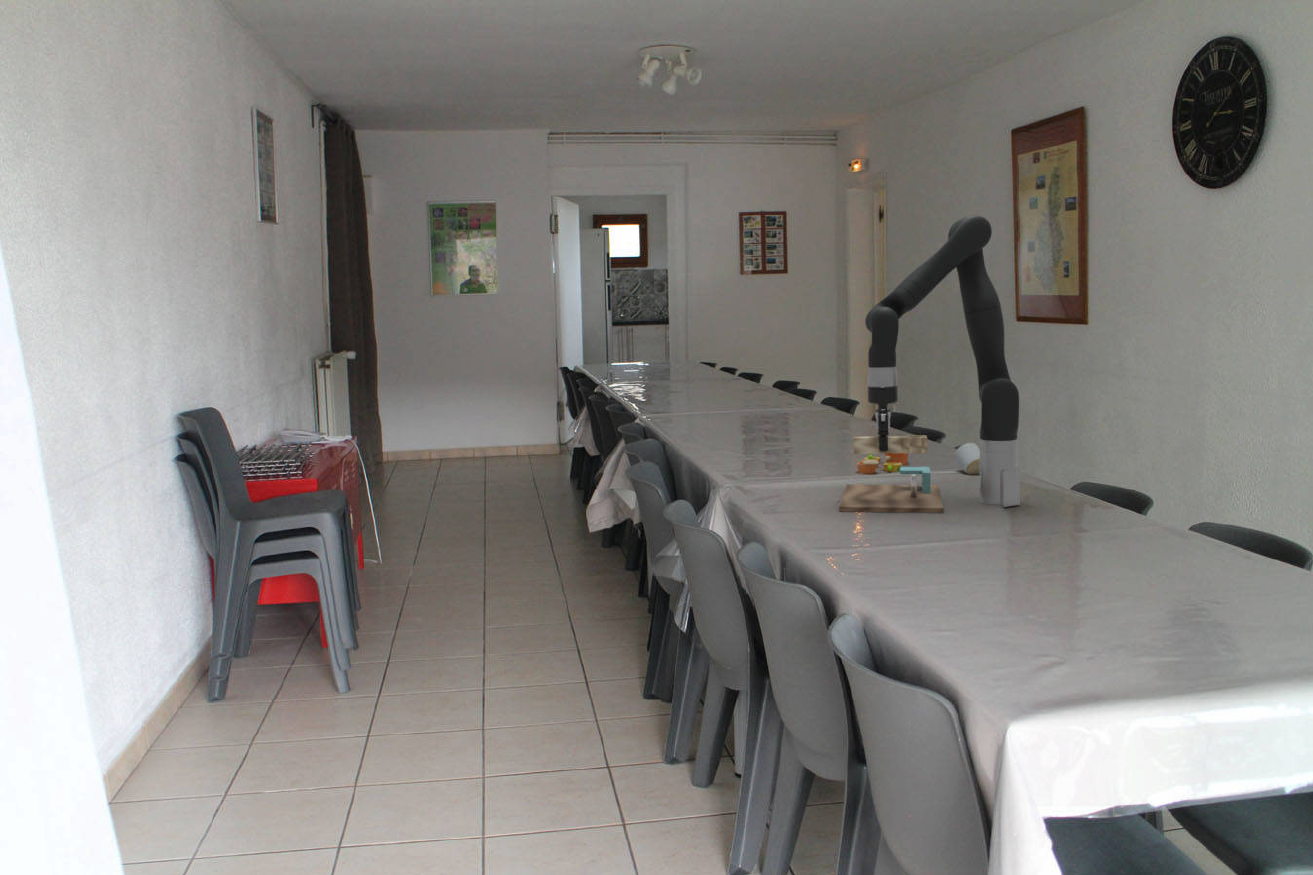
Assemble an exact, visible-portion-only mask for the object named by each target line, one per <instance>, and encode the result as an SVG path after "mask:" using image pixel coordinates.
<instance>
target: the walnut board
mask: <svg viewBox="0 0 1313 875" xmlns="http://www.w3.org/2000/svg"><path fill="white" fill-rule="evenodd" d="M840 501H841V502H840V504H839V512H847V513H848V512H850V513H851V512H853V513H854V512H855V513H856V512H858V513H860V512H862V513H863V512H865V513H921V514H922V513H923V514H925V513H930V514H934V513H935V514H943V513H944V506H943V505H944V504H943V501H942V495H941V490H940V485H938V484H937V485H936V484H935V485H934V484H930V493H923V492H922V484H917V497H911V484H846V486H845V490H844V493H843V496H842V498H841V500H840Z"/></svg>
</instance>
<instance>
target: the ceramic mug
mask: <svg viewBox="0 0 1313 875" xmlns="http://www.w3.org/2000/svg"><path fill="white" fill-rule="evenodd" d="M954 457H955V460H956V461H957V462H958V464H959V466H960V467H961V468H962V470H963V471H964V473H966V474H967V475H980V446H978V444H976V443H974V442H967V443H964V444H963V445H961V446H959V447H958V448H957V450H956V451H955V453H954Z"/></svg>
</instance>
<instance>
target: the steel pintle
mask: <svg viewBox="0 0 1313 875" xmlns="http://www.w3.org/2000/svg"><path fill="white" fill-rule="evenodd" d="M917 482H918V474H910V485H911V497H917V485H918V483H917Z"/></svg>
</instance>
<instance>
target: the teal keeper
mask: <svg viewBox="0 0 1313 875" xmlns="http://www.w3.org/2000/svg"><path fill="white" fill-rule="evenodd" d="M899 474H900V475H911V474H917V475H921V485H922V492H923V493H930V485H931V468H930V466H901V467H900V471H899Z"/></svg>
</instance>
